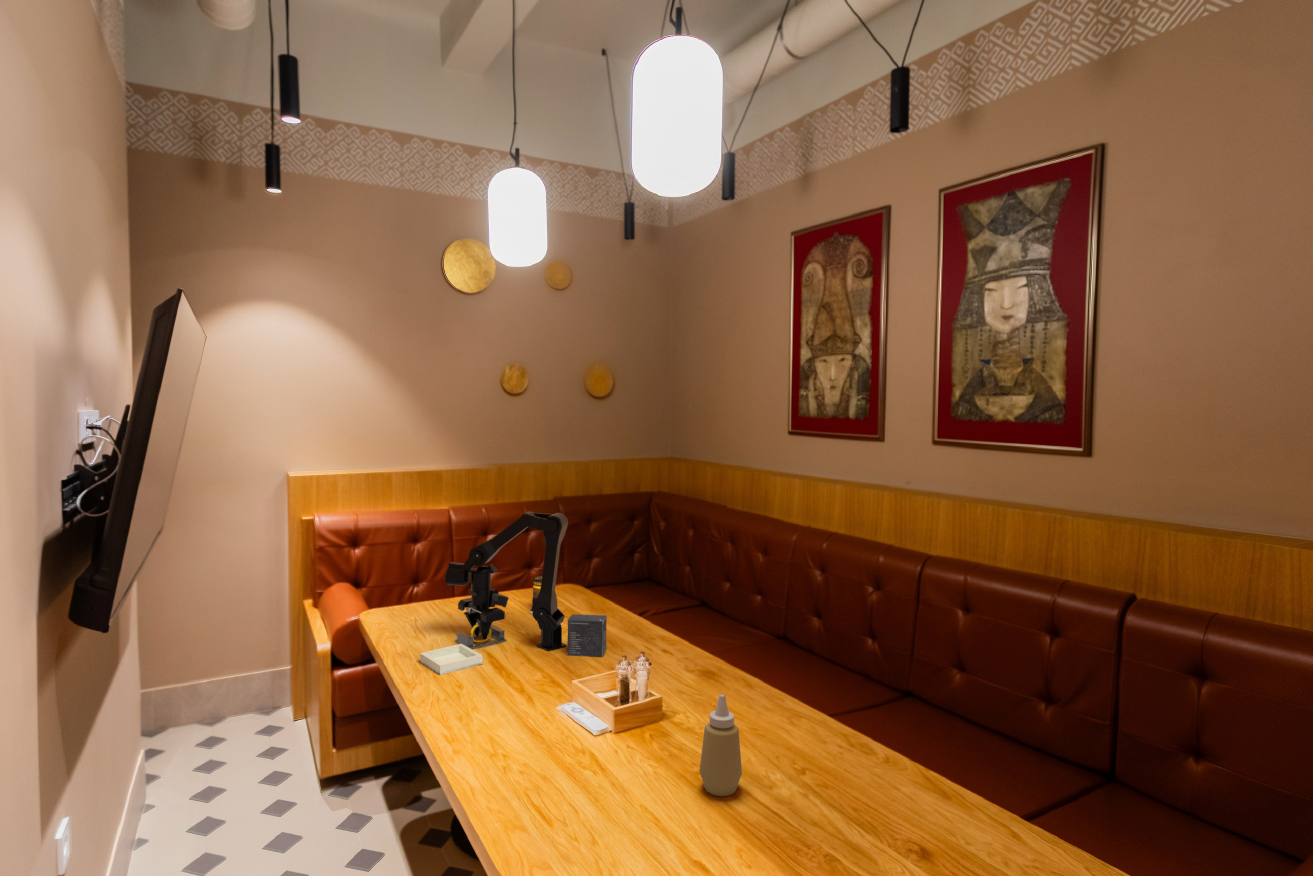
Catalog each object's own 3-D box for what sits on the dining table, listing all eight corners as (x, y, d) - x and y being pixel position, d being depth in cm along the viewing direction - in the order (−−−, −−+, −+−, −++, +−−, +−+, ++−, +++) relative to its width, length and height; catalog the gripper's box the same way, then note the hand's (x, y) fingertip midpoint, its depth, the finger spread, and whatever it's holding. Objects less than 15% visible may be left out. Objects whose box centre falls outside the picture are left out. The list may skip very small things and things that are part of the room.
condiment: (527, 613, 247) (528, 578, 247) (540, 607, 255) (540, 573, 255) (546, 615, 245) (546, 581, 244) (558, 609, 253) (558, 575, 252)
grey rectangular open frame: (506, 641, 218) (506, 631, 218) (470, 650, 210) (470, 639, 210) (490, 633, 225) (490, 624, 225) (455, 641, 217) (455, 632, 217)
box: (606, 649, 212) (607, 614, 212) (603, 657, 206) (603, 621, 205) (571, 648, 213) (571, 613, 213) (566, 655, 207) (566, 620, 206)
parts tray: (482, 664, 199) (482, 655, 199) (440, 675, 190) (440, 665, 190) (461, 652, 208) (461, 643, 208) (420, 662, 200) (420, 653, 200)
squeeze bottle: (714, 773, 142) (716, 684, 141) (749, 788, 137) (752, 695, 136) (690, 790, 136) (692, 696, 135) (726, 806, 131) (728, 708, 130)
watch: (472, 645, 215) (471, 626, 214) (470, 642, 217) (468, 623, 217) (492, 641, 218) (491, 622, 217) (489, 638, 220) (488, 619, 220)
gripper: (520, 588, 215) (520, 639, 216) (489, 576, 229) (489, 625, 230) (487, 594, 208) (487, 648, 208) (457, 582, 221) (457, 632, 222)
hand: (480, 637), depth 217 cm, fingers open, 4 cm apart
